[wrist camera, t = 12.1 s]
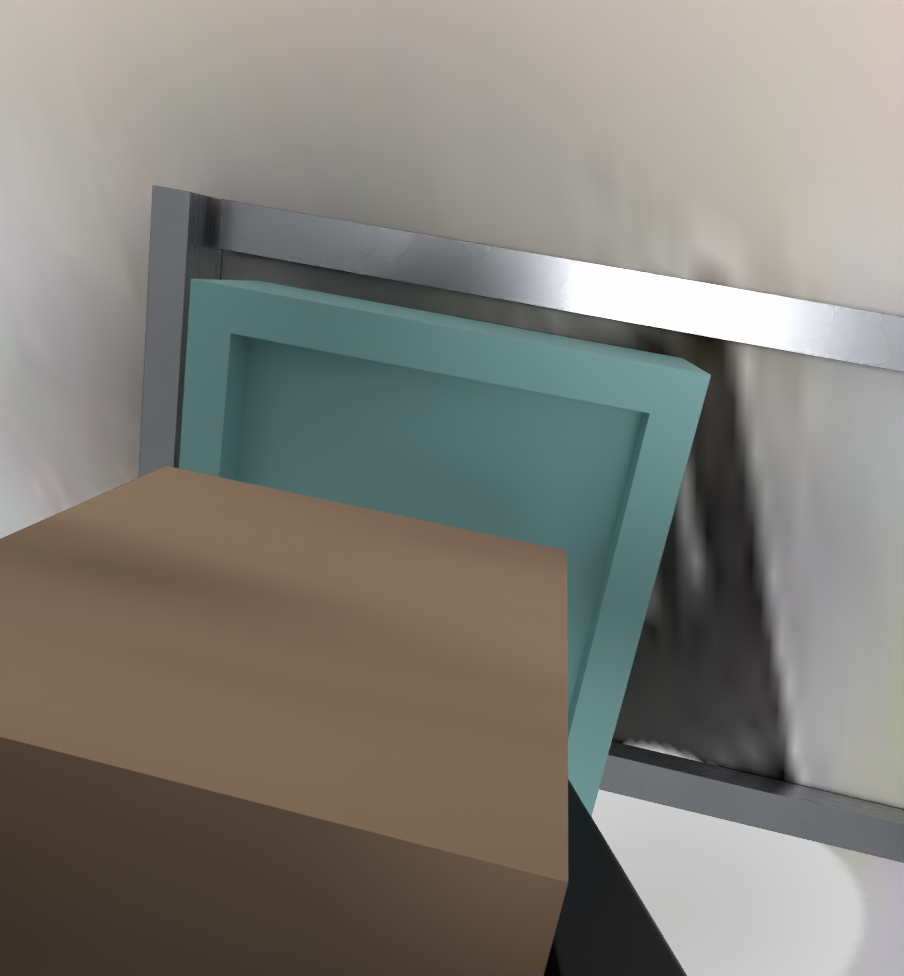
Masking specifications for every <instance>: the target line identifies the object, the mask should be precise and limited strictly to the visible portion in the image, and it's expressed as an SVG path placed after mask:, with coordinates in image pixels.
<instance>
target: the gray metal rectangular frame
mask: <svg viewBox="0 0 904 976" xmlns="http://www.w3.org/2000/svg"><path fill="white" fill-rule="evenodd" d="M222 249H225V250H231V251H236V252H242V253H247V254H253V255H258V256H264V257H270V258H275V259H281V260H286V261H292V262H297V263H303V264H308V265H314V266H319V267H325V268H331V269H336V270H342V271H347V272H353V273H358V274H364V275H369V276H375V277H381V278H386V279H392V280H397V281H403V282H408V283H414V284H419V285H425V286H431V287H436V288H442V289H447V290H453V291H458V292H464V293H469V294H475V295H481V296H486V297H492V298H497V299H503V300H508V301H514V302H519V303H525V304H531V305H536V306H542V307H547V308H553V309H558V310H564V311H569V312H575V313H581V314H586V315H592V316H597V317H603V318H608V319H614V320H619V321H625V322H630V323H636V324H642V325H647V326H653V327H658V328H664V329H669V330H675V331H680V332H686V333H692V334H697V335H703V336H708V337H714V338H719V339H725V340H730V341H736V342H742V343H747V344H753V345H758V346H764V347H769V348H775V349H780V350H786V351H792V352H797V353H803V354H808V355H814V356H819V357H825V358H830V359H836V360H842V361H847V362H853V363H858V364H864V365H869V366H875V367H880V368H886V369H892V370H897V371H903V372H904V317H898V316H892V315H887V314H881V313H875V312H869V311H863V310H858V309H852V308H846V307H840V306H835V305H829V304H823V303H817V302H812V301H806V300H800V299H794V298H788V297H783V296H777V295H771V294H765V293H760V292H754V291H748V290H742V289H737V288H731V287H725V286H719V285H713V284H708V283H702V282H696V281H690V280H685V279H679V278H673V277H667V276H662V275H656V274H650V273H644V272H638V271H633V270H627V269H621V268H615V267H610V266H604V265H598V264H592V263H586V262H581V261H575V260H569V259H563V258H558V257H552V256H546V255H540V254H535V253H529V252H523V251H517V250H511V249H506V248H500V247H494V246H488V245H483V244H477V243H471V242H465V241H460V240H454V239H448V238H442V237H436V236H431V235H425V234H419V233H413V232H408V231H402V230H396V229H390V228H385V227H379V226H373V225H367V224H361V223H356V222H350V221H344V220H338V219H333V218H327V217H321V216H315V215H309V214H304V213H298V212H292V211H286V210H281V209H275V208H269V207H263V206H258V205H252V204H246V203H240V202H234V201H229V200H223V199H222V200H220V199H216V198H212V197H208V196H204V195H200V194H196V193H193V192H188V191H182V190H176V189H170V188H165V187H159V186H153V190H152V211H151V232H150V253H149V274H148V295H147V316H146V337H145V358H144V379H143V400H142V421H141V442H140V463H139V478H140V477H142V476H145V475H147V474H149V473H151V472H154V471H156V470H158V469H161V468H163V467H165V466H169V467H174V468H178V469H179V459H180V444H181V428H182V412H183V397H184V381H185V365H186V350H187V334H188V318H189V303H190V287H191V279H216V280H220V272H221V259H222ZM599 789H600V790H605V791H609V792H613V793H617V794H621V795H625V796H630V797H633V798H638V799H642V800H646V801H650V802H654V803H658V804H663V805H667V806H671V807H675V808H679V809H684V810H688V811H692V812H696V813H700V814H704V815H708V816H712V817H716V818H720V819H725V820H729V821H733V822H737V823H741V824H745V825H749V826H754V827H758V828H762V829H766V830H770V831H774V832H778V833H783V834H787V835H791V836H795V837H799V838H803V839H807V840H812V841H816V842H820V843H824V844H828V845H832V846H836V847H841V848H845V849H849V850H853V851H857V852H861V853H865V854H870V855H874V856H878V857H882V858H886V859H890V860H894V861H899V862H903V863H904V810H902V809H898V808H894V807H889V806H885V805H881V804H877V803H872V802H868V801H864V800H860V799H855V798H851V797H847V796H843V795H838V794H834V793H830V792H826V791H821V790H817V789H813V788H809V787H804V786H800V785H796V784H792V783H787V782H783V781H779V780H774V779H770V778H766V777H762V776H757V775H753V774H749V773H745V772H740V771H736V770H732V769H728V768H723V767H719V766H715V765H711V764H706V763H702V762H698V761H694V760H689V759H685V758H681V757H677V756H672V755H668V754H664V753H659V752H655V751H651V750H647V749H642V748H638V747H634V746H630V745H625V744H621V743H617V742H613V741H612V742H611V745H610V749H609V753H608V757H607V760H606V764H605V768H604V771H603V775H602V779H601V782H600V786H599Z"/></svg>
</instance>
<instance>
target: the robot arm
mask: <svg viewBox="0 0 904 976" xmlns="http://www.w3.org/2000/svg"><path fill="white" fill-rule="evenodd" d="M544 976H687V975H686V973H685V972H684V970H683V968H682V967H681V965H680V963H679V962H678V960H677V958H676V957H675V955H674V953H673V952H672V950H671V948H670V947H669V945H668V943H667V942H666V940H665V939H664V937H663V935H662V934H661V932H660V930H659V928H658V927H657V925H656V923H655V922H654V920H653V918H652V917H651V915H650V913H649V912H648V910H647V909H646V907H645V905H644V904H643V902H642V900H641V899H640V897H639V895H638V894H637V892H636V890H635V889H634V887H633V885H632V884H631V882H630V880H629V879H628V877H627V875H626V874H625V872H624V870H623V869H622V867H621V865H620V864H619V862H618V860H617V859H616V857H615V855H614V854H613V853H612V851H611V849H610V847H609V845H608V844H607V842H606V840H605V839H604V837H603V836H602V834H601V832H600V831H599V829H598V827H597V826H596V824H595V822H594V821H593V819H592V817H591V816H590V814H589V812H588V811H587V809H586V807H585V806H584V804H583V802H582V801H581V799H580V797H579V796H578V794H577V792H576V791H575V789H574V787H573V786H572V784H571V782H570V781H569V779H568V886H567V889H566V893H565V897H564V901H563V904H562V908H561V912H560V916H559V919H558V923H557V927H556V931H555V934H554V938H553V942H552V946H551V949H550V953H549V957H548V961H547V964H546V968H545V972H544Z"/></svg>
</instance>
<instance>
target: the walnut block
mask: <svg viewBox="0 0 904 976" xmlns="http://www.w3.org/2000/svg"><path fill="white" fill-rule="evenodd" d="M567 886H568V628H567V551H566V550H561V549H556V548H552V547H547V546H542V545H538V544H533V543H528V542H523V541H519V540H514V539H509V538H504V537H500V536H495V535H490V534H486V533H481V532H476V531H471V530H467V529H462V528H457V527H452V526H448V525H443V524H438V523H434V522H429V521H424V520H419V519H415V518H410V517H405V516H400V515H396V514H391V513H386V512H382V511H377V510H372V509H367V508H363V507H358V506H353V505H348V504H344V503H339V502H334V501H330V500H325V499H320V498H315V497H311V496H306V495H301V494H296V493H292V492H287V491H282V490H278V489H273V488H268V487H263V486H259V485H254V484H249V483H244V482H240V481H235V480H230V479H226V478H221V477H216V476H211V475H207V474H202V473H197V472H193V471H188V470H183V469H178V468H174V467H169V466H165V467H163V468H161V469H158V470H156V471H154V472H151V473H149V474H147V475H145V476H142V477H140V478H138V479H136V480H133V481H131V482H129V483H126V484H124V485H122V486H120V487H117V488H115V489H113V490H111V491H108V492H106V493H104V494H101V495H99V496H97V497H95V498H92V499H90V500H88V501H86V502H83V503H81V504H79V505H76V506H74V507H72V508H70V509H67V510H65V511H63V512H61V513H58V514H56V515H54V516H51V517H49V518H47V519H45V520H42V521H40V522H38V523H36V524H33V525H31V526H29V527H27V528H24V529H22V530H20V531H17V532H15V533H13V534H11V535H8V536H6V537H4V538H2V539H0V976H544V972H545V968H546V964H547V961H548V957H549V953H550V949H551V946H552V942H553V938H554V934H555V931H556V927H557V923H558V919H559V916H560V912H561V908H562V904H563V901H564V897H565V893H566V889H567Z"/></svg>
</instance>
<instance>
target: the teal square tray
mask: <svg viewBox="0 0 904 976" xmlns="http://www.w3.org/2000/svg"><path fill="white" fill-rule="evenodd" d="M710 377H711V375H710V374H708V373H707V372H705V371H703V370H702V369H700V368H698V367H697V366H695V365H693V364H691V363H690V362H688V361H686V360H685V359H683V358H679V357H673V356H668V355H663V354H657V353H652V352H646V351H641V350H635V349H630V348H624V347H619V346H614V345H608V344H603V343H597V342H592V341H586V340H581V339H575V338H570V337H564V336H559V335H554V334H548V333H543V332H537V331H532V330H526V329H521V328H515V327H510V326H504V325H499V324H494V323H488V322H483V321H477V320H472V319H466V318H461V317H455V316H450V315H445V314H439V313H434V312H428V311H423V310H417V309H412V308H406V307H401V306H395V305H390V304H385V303H379V302H374V301H368V300H363V299H357V298H352V297H346V296H341V295H335V294H330V293H325V292H319V291H314V290H308V289H303V288H297V287H292V286H286V285H281V284H276V283H270V282H265V281H258V280H216V279H191V287H190V303H189V318H188V334H187V350H186V365H185V381H184V397H183V412H182V428H181V444H180V459H179V469H183V470H188V471H193V472H197V473H202V474H207V475H211V476H216V477H221V478H226V479H230V480H235V481H240V482H244V483H249V484H254V485H259V486H263V487H268V488H273V489H278V490H282V491H287V492H292V493H296V494H301V495H306V496H311V497H315V498H320V499H325V500H330V501H334V502H339V503H344V504H348V505H353V506H358V507H363V508H367V509H372V510H377V511H382V512H386V513H391V514H396V515H400V516H405V517H410V518H415V519H419V520H424V521H429V522H434V523H438V524H443V525H448V526H452V527H457V528H462V529H467V530H471V531H476V532H481V533H486V534H490V535H495V536H500V537H504V538H509V539H514V540H519V541H523V542H528V543H533V544H538V545H542V546H547V547H552V548H556V549H561V550H566V551H567V628H568V779H569V781H570V782H571V784H572V786H573V787H574V789H575V791H576V792H577V794H578V796H579V797H580V799H581V801H582V802H583V804H584V806H585V807H586V809H587V811H588V812H589V814H590V816H591V815H592V812H593V808H594V804H595V800H596V797H597V793H598V790H599V786H600V782H601V779H602V775H603V771H604V768H605V764H606V760H607V757H608V753H609V749H610V745H611V742H612V738H613V734H614V731H615V727H616V723H617V720H618V716H619V712H620V709H621V705H622V701H623V698H624V694H625V690H626V687H627V683H628V679H629V675H630V672H631V668H632V664H633V661H634V657H635V653H636V650H637V646H638V642H639V639H640V635H641V631H642V628H643V624H644V620H645V616H646V613H647V609H648V605H649V602H650V598H651V594H652V591H653V587H654V583H655V580H656V576H657V572H658V569H659V565H660V561H661V558H662V554H663V550H664V546H665V543H666V539H667V535H668V532H669V528H670V524H671V521H672V517H673V513H674V510H675V506H676V502H677V499H678V495H679V491H680V487H681V484H682V480H683V476H684V473H685V469H686V465H687V462H688V458H689V454H690V451H691V447H692V443H693V440H694V436H695V432H696V429H697V425H698V421H699V417H700V414H701V410H702V406H703V403H704V399H705V395H706V392H707V388H708V384H709V381H710Z"/></svg>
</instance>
